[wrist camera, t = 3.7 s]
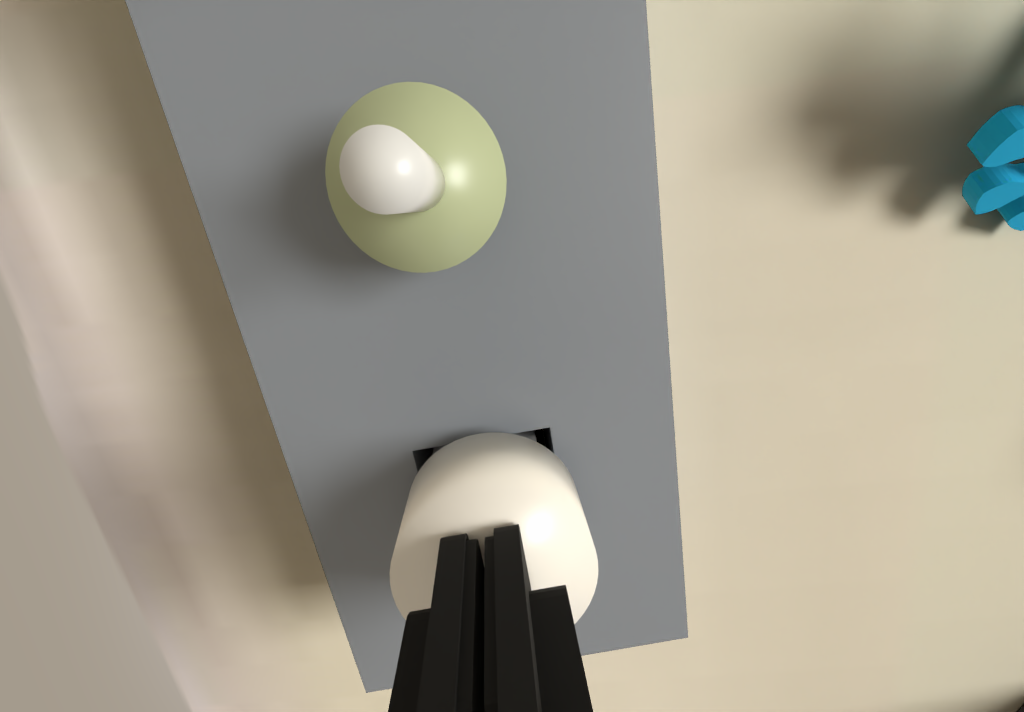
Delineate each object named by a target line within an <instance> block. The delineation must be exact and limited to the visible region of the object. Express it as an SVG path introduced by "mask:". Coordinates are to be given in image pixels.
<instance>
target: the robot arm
mask: <svg viewBox="0 0 1024 712" xmlns="http://www.w3.org/2000/svg"><path fill="white" fill-rule="evenodd" d="M388 712H593V709H592V704H591V700H590V695H589V690H588V686H587V681H586V676H585V672H584V667H583V662H582V658H581V653H580V648H579V644H578V639H577V634H576V630H575V625H574V620H573V616H572V611H571V606H570V602H569V597H568V592H567V588H566V585H561V586H555V587H549V588H543V589H538V590H531V585H530V580H529V574H528V569H527V564H526V558H525V553H524V548H523V543H522V537H521V532H520V527H519V524H517V525H511V526H505V527H499V528H494V536H489V537H485V554H484V564H483V559H482V555H481V550H480V546H479V542H478V539H472V540H469V537H468V535H467V533H465V534H459V535H453V536H447V537H442V538H441V539H440V544H439V551H438V558H437V565H436V573H435V580H434V587H433V594H432V602H431V608H428V609H423V610H417V611H411V612H409V614H408V615H407V619H406V622H405V627H404V632H403V637H402V643H401V648H400V653H399V658H398V663H397V668H396V673H395V679H394V684H393V689H392V694H391V699H390V704H389V710H388Z"/></svg>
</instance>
